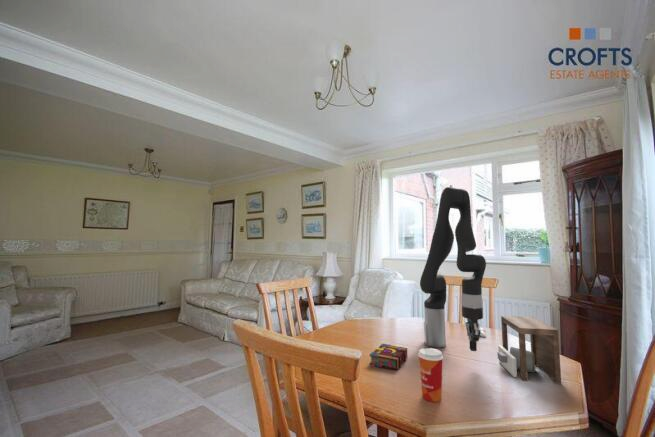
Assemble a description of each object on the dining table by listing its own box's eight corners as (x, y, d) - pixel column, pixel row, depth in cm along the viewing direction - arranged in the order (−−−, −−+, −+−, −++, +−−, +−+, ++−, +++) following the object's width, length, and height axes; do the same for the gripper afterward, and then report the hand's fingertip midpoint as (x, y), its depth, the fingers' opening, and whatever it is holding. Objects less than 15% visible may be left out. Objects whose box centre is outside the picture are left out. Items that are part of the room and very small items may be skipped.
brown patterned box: (408, 358, 127) (407, 346, 127) (396, 373, 113) (396, 359, 113) (382, 353, 133) (382, 342, 133) (368, 367, 119) (368, 353, 119)
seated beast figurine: (486, 337, 153) (485, 313, 154) (467, 335, 157) (466, 312, 158) (485, 332, 162) (484, 309, 163) (467, 330, 166) (467, 308, 167)
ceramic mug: (535, 375, 110) (534, 353, 110) (509, 370, 114) (508, 349, 115) (535, 366, 118) (534, 346, 119) (511, 361, 123) (510, 342, 124)
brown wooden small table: (522, 380, 106) (520, 328, 107) (503, 360, 123) (501, 315, 125) (561, 383, 103) (558, 329, 105) (535, 363, 121) (533, 317, 123)
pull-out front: (507, 376, 109) (506, 357, 109) (493, 361, 122) (492, 345, 123) (517, 377, 108) (516, 358, 108) (502, 361, 122) (501, 345, 122)
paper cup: (415, 392, 98) (414, 347, 99) (438, 391, 99) (436, 346, 100) (425, 405, 90) (423, 356, 91) (449, 403, 91) (448, 355, 92)
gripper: (458, 301, 126) (459, 343, 125) (465, 308, 113) (466, 356, 112) (477, 302, 125) (478, 345, 123) (487, 309, 112) (488, 357, 111)
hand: (473, 350), depth 118 cm, fingers closed
